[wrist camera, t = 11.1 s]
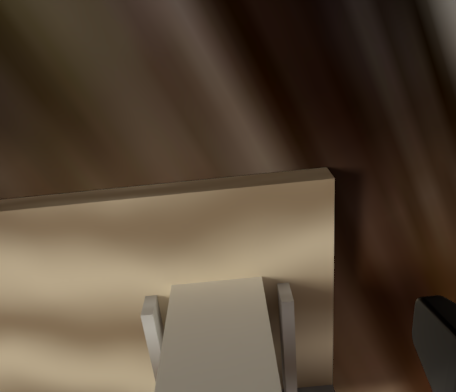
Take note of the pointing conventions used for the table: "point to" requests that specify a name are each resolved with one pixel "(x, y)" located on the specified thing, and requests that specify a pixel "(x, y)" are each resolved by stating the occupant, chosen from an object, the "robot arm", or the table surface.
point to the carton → (218, 339)
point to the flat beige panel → (161, 276)
